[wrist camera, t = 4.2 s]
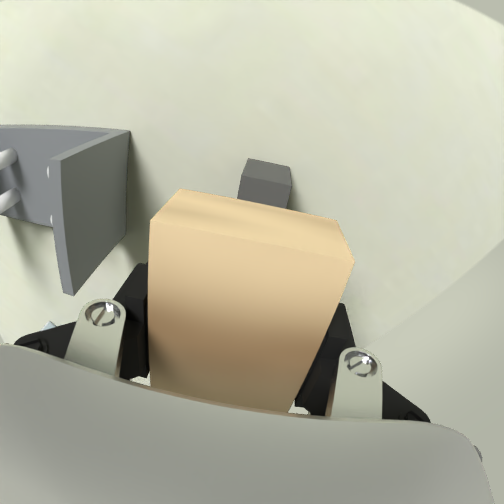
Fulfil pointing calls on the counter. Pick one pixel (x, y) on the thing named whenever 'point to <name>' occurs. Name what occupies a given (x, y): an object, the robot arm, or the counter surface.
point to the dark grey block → (265, 183)
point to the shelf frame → (67, 190)
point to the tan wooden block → (240, 297)
